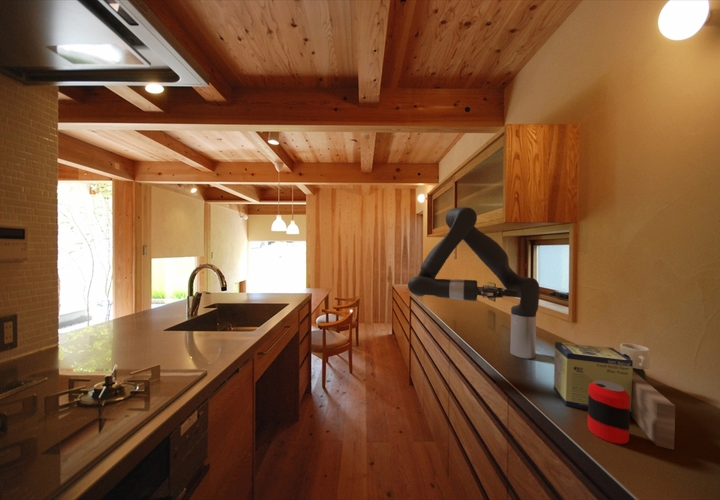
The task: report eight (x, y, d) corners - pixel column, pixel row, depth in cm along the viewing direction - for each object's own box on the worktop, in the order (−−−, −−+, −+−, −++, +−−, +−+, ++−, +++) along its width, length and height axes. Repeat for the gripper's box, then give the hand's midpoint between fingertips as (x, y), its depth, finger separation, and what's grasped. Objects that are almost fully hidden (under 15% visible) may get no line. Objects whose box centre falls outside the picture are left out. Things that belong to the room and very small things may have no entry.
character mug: (612, 376, 100) (613, 340, 100) (638, 380, 97) (638, 343, 97) (629, 391, 90) (630, 350, 89) (658, 395, 87) (659, 354, 87)
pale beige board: (611, 393, 88) (611, 361, 88) (623, 395, 87) (624, 363, 87) (656, 445, 64) (657, 402, 64) (674, 449, 63) (675, 405, 63)
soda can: (579, 424, 72) (580, 378, 72) (607, 423, 72) (608, 377, 72) (607, 445, 64) (609, 393, 64) (638, 444, 65) (639, 393, 65)
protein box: (633, 417, 75) (634, 360, 75) (565, 406, 80) (566, 352, 80) (611, 398, 85) (613, 347, 85) (552, 389, 90) (553, 341, 90)
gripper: (462, 281, 97) (519, 285, 89) (464, 277, 109) (515, 280, 101) (461, 303, 97) (518, 308, 89) (464, 297, 109) (515, 301, 102)
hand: (516, 293), depth 95 cm, fingers closed
